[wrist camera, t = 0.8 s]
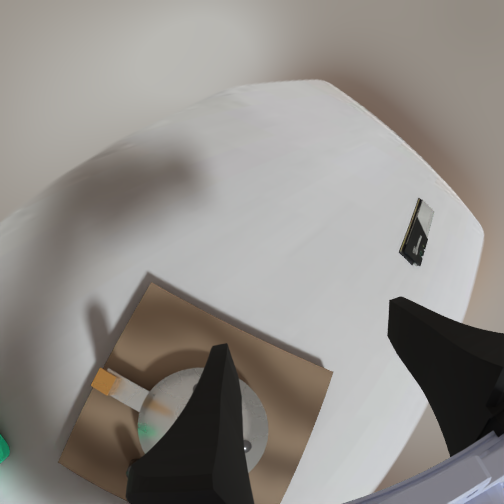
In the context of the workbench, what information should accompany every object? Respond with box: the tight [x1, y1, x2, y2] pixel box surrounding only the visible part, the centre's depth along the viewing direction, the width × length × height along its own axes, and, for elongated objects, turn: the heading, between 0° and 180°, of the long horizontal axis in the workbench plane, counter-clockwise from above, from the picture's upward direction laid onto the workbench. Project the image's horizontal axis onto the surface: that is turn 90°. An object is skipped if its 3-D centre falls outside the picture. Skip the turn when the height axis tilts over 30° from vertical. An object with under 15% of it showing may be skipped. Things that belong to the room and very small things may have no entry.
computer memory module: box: [399, 198, 434, 266], centre depth 44 cm, size 15×1×4 cm
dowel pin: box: [126, 459, 139, 478], centre depth 19 cm, size 1×1×3 cm
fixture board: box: [58, 282, 333, 504], centre depth 24 cm, size 20×20×2 cm
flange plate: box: [91, 368, 269, 473], centre depth 21 cm, size 15×11×5 cm
